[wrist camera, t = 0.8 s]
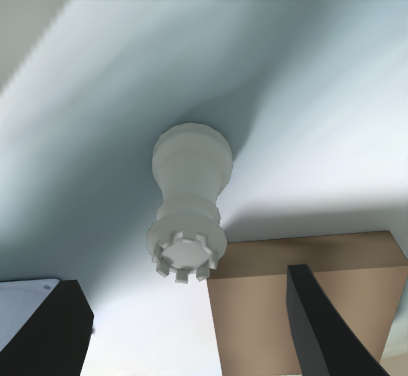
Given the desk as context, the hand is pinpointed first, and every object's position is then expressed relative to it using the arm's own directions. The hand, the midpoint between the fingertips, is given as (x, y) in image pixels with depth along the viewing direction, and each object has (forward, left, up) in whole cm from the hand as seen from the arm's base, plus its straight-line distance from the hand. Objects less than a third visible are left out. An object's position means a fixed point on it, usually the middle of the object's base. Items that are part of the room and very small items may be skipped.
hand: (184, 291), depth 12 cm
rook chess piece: (0, 0, -10) cm, 10 cm away
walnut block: (+6, -13, -9) cm, 17 cm away
